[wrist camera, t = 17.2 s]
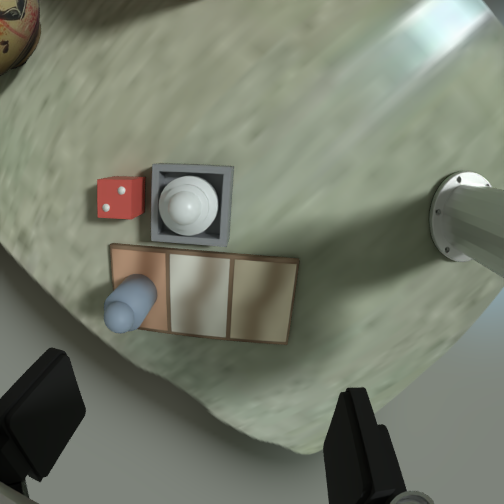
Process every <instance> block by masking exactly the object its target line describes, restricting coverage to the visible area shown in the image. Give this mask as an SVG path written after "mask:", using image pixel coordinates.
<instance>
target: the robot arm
mask: <svg viewBox="0 0 504 504" xmlns="http://www.w3.org/2000/svg"><path fill="white" fill-rule="evenodd" d="M429 224H430V232H431V235H432V239H433V241H434V243H435V245H436V247H437V248H438V250H439V251H440V252H441V253H442V254H443V255H444V256H446V257H448V258H449V259H451V260H454V261H458V262H465V261H470V260H472V259H473V260H475V261H477V262H478V263H480V264H482V265H483V266H485V267H487V268H488V269H490V270H491V271H493V272H495V273H496V274H498V275H499V276H501V277H503V278H504V190H501V189H497V188H493V187H492V186H491V184H490V183H489V182H488V181H487V179H486V178H484V177H483V176H482V175H480V174H478V173H475V172H471V171H460V172H456V173H454V174H452V175H450V176H449V177H448V178H446V179H445V180H444V181H443V182H442V184H441V185H440V186H439V188H438V189H437V191H436V193H435V195H434V198H433V201H432V203H431V209H430V217H429ZM85 412H86V408H85V405H84V402H83V399H82V396H81V393H80V391H79V388H78V385H77V381H76V378H75V375H74V372H73V368H72V365H71V361H70V358H69V357H68V356H67V354H66V353H65V351H62V350H59V349H55V348H49V349H48V350H47V351H46V352H45V353H44V354H43V355H42V356H41V357H40V358H39V359H38V360H37V361H36V362H35V363H34V364H33V365H32V366H31V367H30V368H29V369H28V370H27V371H26V372H25V373H24V374H23V375H22V376H21V377H20V378H19V379H18V380H17V381H16V383H14V385H13V386H12V387H11V388H10V389H9V390H8V391H7V392H6V393H5V394H4V395H3V396H2V397H1V399H0V504H38V503H36V502H35V501H33V500H31V499H30V498H29V494H28V489H27V485H26V480H25V477H26V476H27V475H29V477H31V478H33V479H35V480H37V481H39V482H41V480H42V478H43V477H46V476H48V474H49V473H50V471H51V469H52V468H53V466H54V464H55V463H56V461H57V459H58V457H59V456H60V454H61V453H62V451H63V450H64V448H65V446H66V445H67V443H68V442H69V440H70V438H71V437H72V435H73V434H74V432H75V430H76V429H77V427H78V426H79V424H80V422H81V421H82V419H83V418H84V416H85ZM323 453H324V462H325V470H326V479H327V488H328V498H329V504H434V501H433V500H432V499H431V498H430V497H429V496H428V495H426V494H424V493H423V492H419V491H407V490H406V487H405V484H404V480H403V477H402V474H401V470H400V467H399V463H398V460H397V457H396V454H395V451H394V448H393V445H392V442H391V439H390V436H389V433H388V430H387V428H386V426H385V425H383V424H381V425H377V422H376V419H375V416H374V412H373V409H372V406H371V403H370V400H369V397H368V394H367V391H366V389H365V388H364V387H362V388H347V389H346V391H345V392H341V393H340V395H339V398H338V402H337V405H336V408H335V411H334V415H333V418H332V421H331V424H330V427H329V430H328V433H327V436H326V438H325V441H324V446H323Z"/></svg>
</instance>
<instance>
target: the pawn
mask: <svg viewBox="0 0 504 504" xmlns="http://www.w3.org/2000/svg"><path fill="white" fill-rule="evenodd" d="M156 300H157V289H156V286H155V284H154V283H153V282H152V280H151V279H149V278H148V277H147V276H145V275H142V274H132V275H130V276H128V277H127V278H126V279H125V280H124V281H123V282H122V283H121V284H120V285H119V286H118V287H117V288H116V289H115V290H114V291H113V292H112V293H111V294H110V295H109V296H108V297H107V299H106V300H105V303H104V311H105V312H104V321H105V324H106V326H107V327H108V328H109V329H110V330H111V331H113V332H115V333H125V332H127V331H133V330H135V329H137V328H138V327H139V326H140V325H141V324H142V322H143V320H144V319H145V317H146V316H147V314H148V313H149V311H150V310H151V308H152V306H153V305H154V303H155V302H156Z"/></svg>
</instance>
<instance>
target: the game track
mask: <svg viewBox="0 0 504 504" xmlns="http://www.w3.org/2000/svg"><path fill="white" fill-rule="evenodd" d="M110 255H111V270H112V282H113V291H114V290H115V289H116V288H117V287H118V286H119V285H120V284H121V283H122V282H123V281H124V280H125V279H126V278H127V277H128V276H130V275H132V274H142V275H145V276H147V277H148V278H149V279H151V280H152V282H153V283H154V284H155V286H156V289H157V300H156V302H155V303H154V305H153V306H152V308H151V310H150V311H149V313H148V314H147V316H146V317H145V319H144V320H143V322H142V324H141V325H140V326H139V327H138V328H137V329H140V330H147V331H153V332H161V333H168V334H175V335H183V336H192V337H200V338H210V339H219V340H230V341H241V342H253V343H267V344H283V345H287V344H288V337H289V331H290V324H291V318H292V311H293V304H294V297H295V290H296V283H297V275H298V268H299V258H287V257H275V256H262V255H250V254H238V253H226V252H214V251H202V250H189V249H177V248H165V247H154V246H142V245H130V244H118V243H112V244H110Z"/></svg>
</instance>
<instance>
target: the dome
mask: <svg viewBox="0 0 504 504" xmlns="http://www.w3.org/2000/svg"><path fill="white" fill-rule="evenodd" d="M218 208H219V200H218V195H217V193H216V191H215V189H214V187H213V186H212V185H211V184H210V183H209V182H208V181H207V180H205V179H203V178H201V177H198V176H184V177H180V178H177V179H175V180H173V181H171V182H170V183H169V184H168V185H167V186H166V187H165V188H164V189H163V191H162V193H161V196H160V199H159V212H160V215H161V218H162V220H163V222H164V223H165V224H166V226H167V227H168V228H169V229H171V230H172V231H174V232H175V233H178V234H181V235H196V234H199V233H201V232H203V231H204V230H206V229H207V228H208V227H209V226H210V225H211V223H212V222H213V221H214V219H215V217H216V215H217V213H218Z"/></svg>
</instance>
